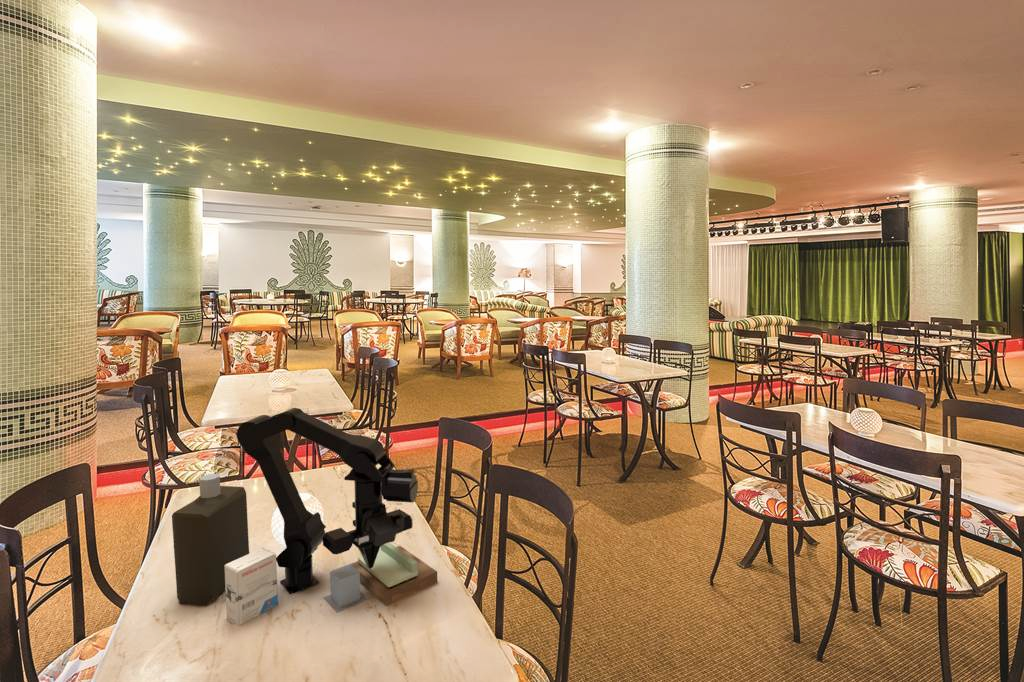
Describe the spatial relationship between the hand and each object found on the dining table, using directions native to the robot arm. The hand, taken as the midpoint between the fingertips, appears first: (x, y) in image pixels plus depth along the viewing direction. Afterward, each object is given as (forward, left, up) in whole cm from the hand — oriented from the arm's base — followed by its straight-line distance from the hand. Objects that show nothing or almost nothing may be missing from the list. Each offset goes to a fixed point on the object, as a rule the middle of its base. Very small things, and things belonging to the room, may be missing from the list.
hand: (370, 567), depth 118 cm
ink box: (-8, -22, -5) cm, 24 cm away
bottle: (-24, -25, -5) cm, 35 cm away
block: (0, -6, -5) cm, 8 cm away
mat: (0, -6, -5) cm, 8 cm away
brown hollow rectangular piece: (0, +6, -5) cm, 8 cm away
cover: (0, +4, -2) cm, 5 cm away
